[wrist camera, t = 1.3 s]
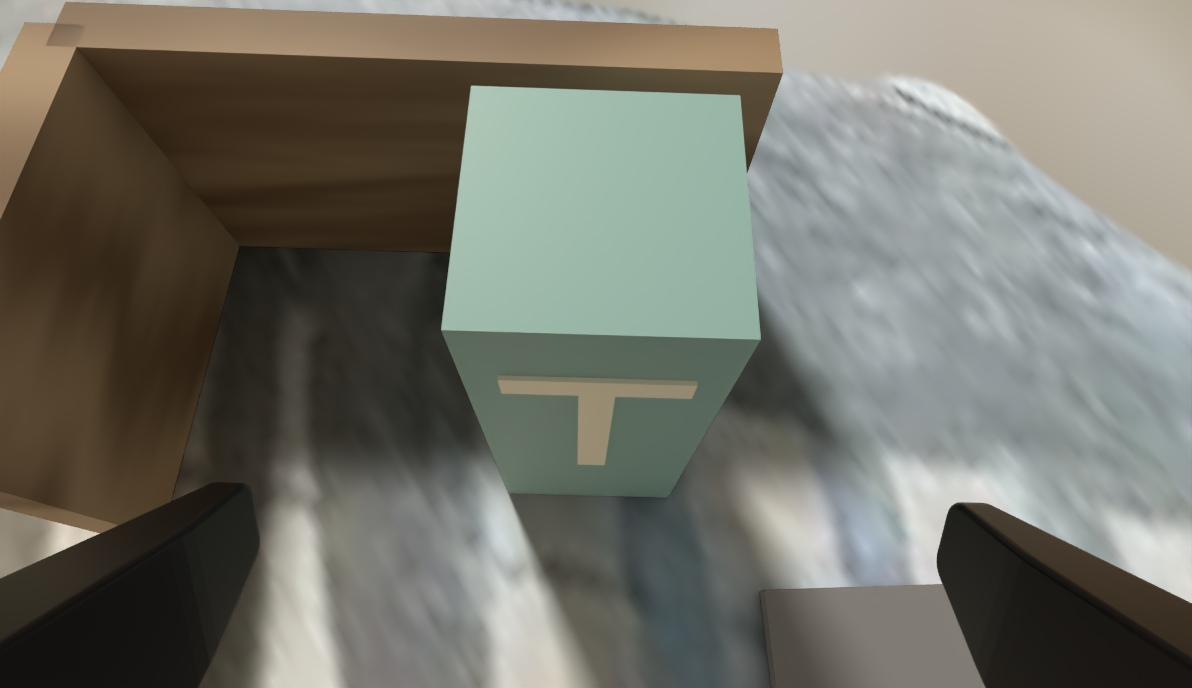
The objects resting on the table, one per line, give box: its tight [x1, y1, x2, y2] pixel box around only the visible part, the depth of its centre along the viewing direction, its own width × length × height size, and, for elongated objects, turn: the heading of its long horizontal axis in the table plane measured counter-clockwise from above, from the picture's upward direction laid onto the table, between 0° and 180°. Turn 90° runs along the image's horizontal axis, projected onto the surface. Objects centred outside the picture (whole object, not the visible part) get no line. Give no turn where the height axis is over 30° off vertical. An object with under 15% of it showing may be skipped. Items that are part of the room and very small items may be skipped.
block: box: [441, 86, 761, 498], centre depth 17 cm, size 5×5×12 cm
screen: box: [0, 2, 783, 533], centre depth 19 cm, size 12×19×9 cm, turn 89°
